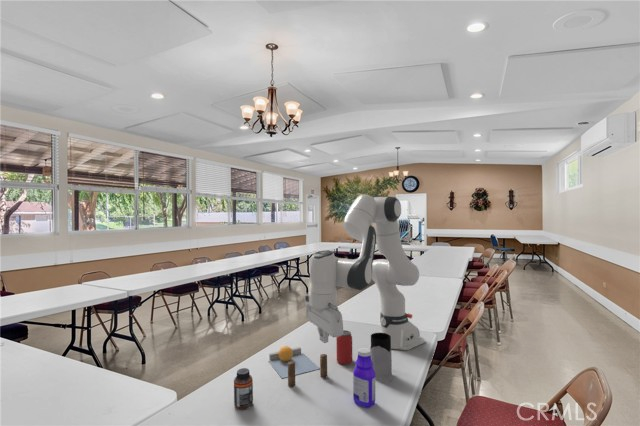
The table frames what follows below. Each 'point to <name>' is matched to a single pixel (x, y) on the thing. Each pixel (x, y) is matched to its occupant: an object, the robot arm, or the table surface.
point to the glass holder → (381, 356)
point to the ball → (285, 353)
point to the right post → (323, 366)
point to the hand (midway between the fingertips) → (323, 341)
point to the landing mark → (301, 365)
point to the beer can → (344, 348)
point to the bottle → (364, 379)
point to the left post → (291, 374)
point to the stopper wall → (276, 355)
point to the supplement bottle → (243, 389)
